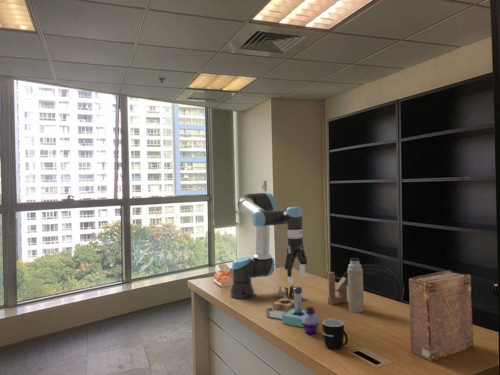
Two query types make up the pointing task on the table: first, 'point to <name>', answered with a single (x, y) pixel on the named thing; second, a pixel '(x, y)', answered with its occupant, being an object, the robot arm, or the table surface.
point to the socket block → (293, 318)
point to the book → (440, 314)
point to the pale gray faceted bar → (274, 313)
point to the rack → (283, 305)
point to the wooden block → (337, 290)
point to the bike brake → (285, 294)
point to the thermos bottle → (355, 286)
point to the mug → (334, 333)
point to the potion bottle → (310, 321)
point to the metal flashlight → (297, 300)
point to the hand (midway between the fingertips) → (296, 279)
